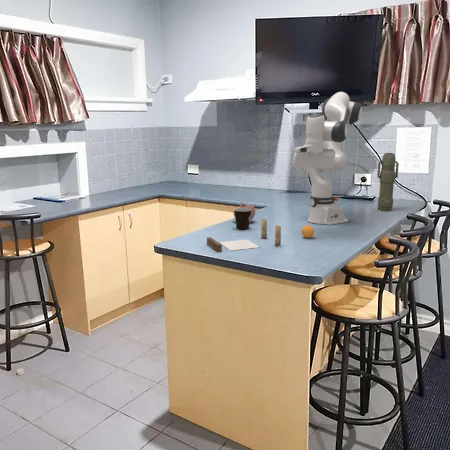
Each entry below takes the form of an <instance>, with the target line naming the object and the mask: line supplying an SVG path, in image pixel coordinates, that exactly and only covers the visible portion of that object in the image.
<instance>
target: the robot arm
mask: <svg viewBox="0 0 450 450" xmlns="http://www.w3.org/2000/svg"><path fill="white" fill-rule="evenodd" d="M321 106H322V107H321V113H313V114H309V115H308V116H307V118H306V119H307V120H306V126H305V141H304V144H303V145H300V146H297V147H295V148H294V151H295V152H294V154H293V156H292V160H291V161H292V163H291V165H292V167H293V168H294V169H299V172H300V175H301V176H300V177H301V178H303V179H305V178H306V173H304V170H305V171H306V172H307V175H308V176H309V179H310V181H311V195H310V202H309V203H310V204H309V205H310V209H309V214H308V218H307V222H308V223H312V224H319V225H326V226H327V225H328V226H333V225H339V224H343V223H348V222H349V219H348V218H346V217H345V213H344V212H345V211H344V210H343V208H341V207H340V206H339V205H337V204H336V203H335V202H338V201H339V198H338V197H336V196H333V184H334V183H333V181H332V180H331V178H328V177H327V176H326V172H342V171H344V170H345V168H346V167H347V166H348V162H349V161H348V157H347V155H346V153H345V152H343V151H342V149H341V148H342V145H343V142H344V141H345V140H346V139H347V138H348V133H349V126H352V125H353V124H355V123H357V122H358V121H360V119H361V117H362V115H363V106H362V104H360V103H359V102H356V101H355V102H354V101H351V98H350V96H349V95H348V93H346V92H344V91H338V92H336V93H334V94H333V95H332V96H331V97H329V98H327V99H326V100H324V102H323V103H322V105H321ZM325 118H327V119H328V120H329V121H326V120H325Z"/></svg>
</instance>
